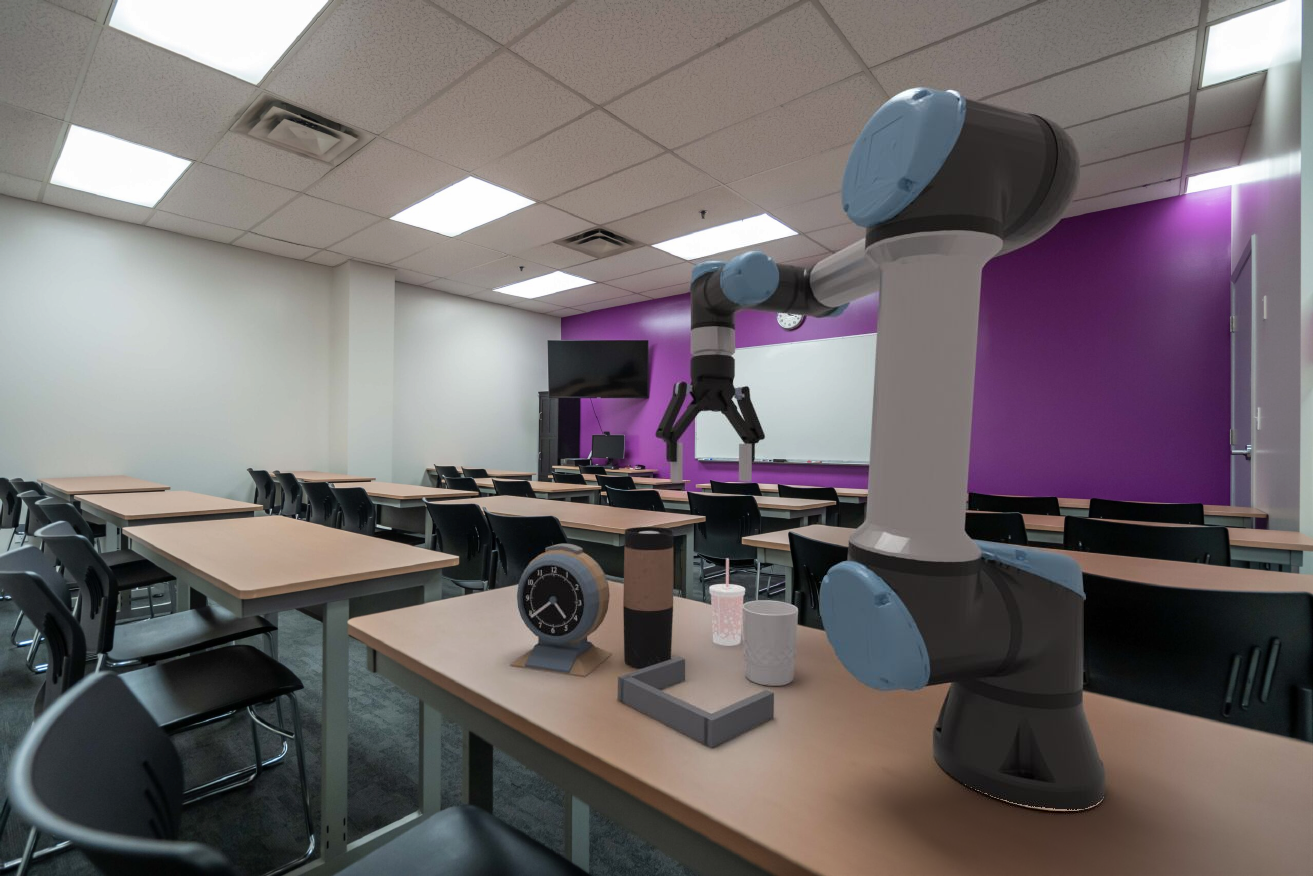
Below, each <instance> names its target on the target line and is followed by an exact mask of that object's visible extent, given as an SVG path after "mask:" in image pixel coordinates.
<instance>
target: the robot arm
mask: <svg viewBox="0 0 1313 876" xmlns="http://www.w3.org/2000/svg"><path fill="white" fill-rule="evenodd" d="M1080 159H1081V158H1080V156H1079V151H1078V149H1077V147H1076V143H1075V141H1074V140H1073V138H1072V136H1071V135H1069V133H1068V132H1067V131H1066V130H1065V129H1064V128H1063V127H1062V126H1061V125H1059V124H1058V123H1057V122H1055V121H1053V120H1051V119H1049V118H1047V117H1044V116H1041V115H1038V114H1035V113H1028V112H1027V113H1026V112H1025V111H1024V112H1023V111H1020V110H1017V109H1016V110H1015V109H1013V108H1009V107H1004V106H1001V105H996V104H993V103H989V102H986V101H985V102H984V101H981V100H976V99H973V98H969V97H964V95H962V93H961V92H959V91H957V90H953V89H948V90H946V91H945V90H939V89H935V88H930V87H924V86H923V87H922V86H921V87H920V86H919V87H912V88H909V89H906V90H904V91H901V92H899V93H897V94H896V95H895V96H893V97H891V98H890V99H889V100H887V101H886V102H885V103H884V104H883V105H882V106H880V108H878V109H877V110H876V112H874V114H873V115H872V116H871V118H870V119H869V120H868V121H867V122H866V124H865V126H864V128H863V129H862V131H861V133H860V135H859V136H858V137H857V139H856V140H855V142H854V144H853V147H852V149H851V151H850V153H849V156H848V159H847V161H846V164H845V168H844V171H843V175H842V181H841V190H840V191H841V192H840V193H841V195H840V196H841V205H842V206H841V207H842V209H843V211H844V212H845V213H846V216H847V218H848V220H850V221H851V222H853V223H854V224H855V225H856V226H858V227H860V228H864V229H865V237H863V238H861V239H859V240H858V241H856V242H854V243H853V244H850V245H849V246H846V247H845V248H842V249H840V250H839V251H837V252H835V253H833V254H831V255H830V256H827V257H826V258H823V259H821V260H820V261H817V262H816V263H813V264H812V265H810V266H805V265H796V264H786V263H780V262H779V263H778V262H775V261H774V259H773V258H772V257H770V256H768V255H767V254H766V253H764V252H762V251H759V250H749V251H746V252H744V253H742V254H740V255H737V256H735V257H734V258H731V259H729V261H724V260H707V261H704V262H700V263H697V264H696V265H694V267H693V268H692V270H691V277H690V278H691V279H690V285H689V291H690V292H689V293H690V354H691V355H692V357H691V358H690V360H689V361H690V363H689V365H690V367H689V368H690V371H689V372H690V373H689V375H690V379H691V380H690V381H691V382H690V384H689V383H687V382H686V381H681V382H679V381H678V382H676V383H674V384H673V389H672V397H670V398H671V399H670V401H669V403H668V405H667V407H666V410H665V411H664V414H663V416H662V418H661V420H660V422H659V424H658V426H657V429H656V431H655V437H656V438H658V439H661V440H662V441H663V442H664V443H666V450H665V451H666V453H665V454H666V455H665V456H666V457H665V458H666V459H665V460H666V461H667V462H669V463H670V479H669V481H670V483H678V484H680V483H683V468H684V467H683V466H684V465H683V459H684V458H683V453H684V452H683V450H684V449H683V447H684V445H683V444H684V443H683V442H679V439H681V437H682V436H683V434H685V432H686V430H687V429H688V428H689V427H690V425H691V424H692V422H693V421H694V420H695V419H696V417H697V416H698V415H699V413H701V412H715V413H718V412H721V414H723V415H724V416H725V417H726V419H727V420H728V422H729V424H731V427H732V428H733V429H734V430H735V432H736V433H737V435H738V436H739V438H740V439H741V442H743V443H739V444H738V482H747V483H748V482H752V479H753V478H752V472H753V471H752V463H754V462H755V459H756V454H755V453H756V444H758V443H759V442H760V441H763V440H764V439H766V435H765V431H764V430H763V427H762V424H761V422H760V420H759V417H758V415H757V412H756V410H755V409H756V408H755V407H754V405H753V402H752V399H751V393H750V392H751V391H750V387H749V386H748V385H745V386H740V387H739V386H738V387H735V386H734V380H735V376H736V373H735V372H736V359H735V358H734V356H733V355H735V353H736V314H738V313H740V312H742V311H757V312H765V313H766V312H767V313H777V314H787V315H794V316H795V315H796V316H797V315H798V316H805V317H813V318H817V319H822V318H837V317H839V316H842V314H843V313H844V311H845V310H846V309H848V308H849V305H850V304H851V302H853V301H856V300H859V299H861V298H865V297H867V296H869V295H872V294H875V293H878V305H877V307H878V308H877V309H878V311H877V322H876V323H877V324H876V325H877V327H876V341H875V342H876V344H875V345H876V346H875V361H874V362H875V363H874V376H873V377H874V378H873V379H874V380H873V395H872V412H871V413H872V414H871V429H870V430H871V431H870V446H869V447H870V450H869V465H868V483H867V498H866V499H867V501H866V516H865V517H866V518H865V520H864V521H863V523H862V524H861V525H859V526H858V527H857V528H856V529H855V530H853V531H852V532H851V533H850V534H849V535H848V547H847V559H846V560H845V561H841V562H839V563H837V564H835V565H833V566H831V567H830V568H829V570H828V571H827V574H826V575H824V577H823V579H822V581H821V584H820V589H819V609H820V610H819V611H820V616H821V622H822V625H823V629H824V632H825V635H826V638H827V640H828V642H829V644H830V645H831V646H832V649H833V651H834V654H835V656H836V657H837V659H838V660H839V662H840V663H841V665H842V666H843V667H844V668H845V670H846V671H847V672H848V673H849V674H850V675H851V676H853V678H855V679H856V680H857V681H858V682H860V683H861V684H863V685H865V686H867V687H868V688H871V689H874V690H877V691H883V692H891V691H899V690H900V691H901V690H902V691H903V690H905V691H910V692H911V691H912V692H914V691H920V690H922V689H923V688H925V687H931V686H938V685H944V684H950V686H949V687H948V690H947V693H946V696H945V698H944V701H943V704H942V707H941V708H940V712H939V713H938V718H937V721H936V723H935V725H934V727H933V733H932V754H933V757H934V759H935V761H936V763H937V764H938V766H940V768H941V769H943V771H944V772H945V773H947V772H948V773H949V774H950V776H951V777H952V776H953V777H954V778H953V777H952V778H953V779H955V780H956V779H957V780H956V781H958V780H959V781H960V783H961V782H962V783H961V784H963V785H964V784H966V785H967V786H966V785H965V786H966V787H968V786H969V787H968V788H970V787H972V788H973V789H972V788H971V789H972V790H974V789H976V790H979V791H981V792H983V793H987V794H988V795H991V796H993V797H996V798H999V799H1003V800H1007V801H1009V802H1013V803H1017V804H1022V805H1028V806H1031V807H1032V806H1033V807H1034V806H1035V807H1041V808H1042V807H1045V808H1053V809H1054V808H1055V809H1067V810H1069V809H1070V810H1071V809H1072V810H1074V809H1075V810H1077V809H1085V808H1088V807H1090V806H1093V805H1096V804H1097V803H1098V802H1100V801H1101V800H1102V799H1103V797H1104V795H1105V796H1106V770H1105V766H1104V764H1103V761H1102V760H1101V757H1100V754H1099V751H1098V748H1097V745H1096V742H1095V739H1094V735H1093V733H1092V730H1091V727H1090V725H1089V721H1088V719H1087V715H1086V713H1085V709H1084V699H1083V698H1084V695H1083V694H1084V692H1083V691H1084V687H1083V686H1084V602H1085V601H1086V599H1087V597H1086V593H1085V592H1084V583H1083V582H1084V581H1083V571H1082V567H1081V565H1080V564H1079V563H1078V561H1077V560H1076V559H1074V558H1073V557H1072V556H1069V555H1067V554H1064V553H1060V552H1055V551H1049V550H1044V549H1038V548H1034V547H1033V548H1032V547H1027V546H1021V545H1015V544H1008V543H1001V542H993V541H987V540H981V539H980V540H979V539H973V538H971V537H970V536H969V535H968V534H967V532H966V530H965V529H966V526H965V525H966V515H967V514H966V511H967V497H968V483H969V466H970V454H971V453H970V451H971V437H972V435H971V434H972V422H973V408H974V407H973V406H974V395H975V394H974V391H975V378H976V377H975V376H976V374H975V373H976V363H977V361H976V360H977V346H978V333H979V332H978V331H979V315H980V301H981V300H980V299H981V284H982V271H983V268H984V266H985V265H986V264H987V263H988V262H989V261H990V260H992V259H993V258H996V257H999V256H1003V255H1005V254H1008V253H1011V252H1014V251H1016V250H1018V249H1020V248H1022V247H1025V246H1027V245H1029V244H1031V243H1033V242H1035V241H1036V240H1038V239H1039V238H1041V237H1043V236H1044V235H1045V234H1047V233H1048V232H1049V231H1050V230H1052V229H1053V228H1054V227H1055V226H1056V225H1058V223H1059V222H1060V221H1061V219H1062V218H1063V217H1064V215H1065V214H1066V213H1067V212H1068V211H1069V209H1070V207H1071V205H1072V203H1073V201H1074V199H1075V196H1076V194H1077V192H1078V188H1079V184H1080V180H1081V160H1080ZM688 395H690V397H691V398H692V400H691V401H690V402H689V404H688V405H687V407H686V410H685V411H684V412H683V413H682V414H681V416H680V417H679V418H678V420H677V417H678V415H679V413H680V411H681V409H682V407H683V405H684V402H685V400H686V397H687V396H688ZM733 398H734V399H735V400H736V402H737V405H736V404H735V402H734V401H733ZM738 408H739V410H740V412H739V410H738ZM676 420H677V421H676ZM675 422H676V423H675ZM948 773H947V774H948ZM949 774H948V775H949ZM959 781H958V782H959ZM976 790H975V791H976ZM1104 798H1105V797H1104Z"/></svg>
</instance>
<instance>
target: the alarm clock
mask: <svg viewBox="0 0 1313 876" xmlns="http://www.w3.org/2000/svg"><path fill="white" fill-rule="evenodd" d="M583 550H584V549H583V548H582V547H580V546H578V545H575V544H573V543H572V544H571V543H558V544H554V545H550V546H547V547H545V550H544V551H545V552H542V553H541V554H538V555H537V556H536V557H535V558H534V559H532V560H531V561H530V562H529V563H528V565H527V566H526V568H525V569H524V570H523V573H522V574H521V577H520V579H519V583H518V584H517V585H518V586H517V593H516V600H517V601H516V602H517V609H518V613H519V615H520V617H521V620H522V621H523V623H524V625H525V626H526V628H527V629H528V630H529V631H530V632H531V633H533V635H535V637H537V639H538V640H537V642H538V643H536V644H535V645H534V646H533V648H532V649H530V650H528V651H527V652H526V653H524V654H523V655H522V656H520V657H519V658H517V659H516V660H514V661H513V662H512V663H510V665H509V666H510V667H515V668H521V669H529V670H535V671H541V672H547V673H555V674H561V675H567V676H574V677H579V678H586V677H587V676H589V675H590V674H591V673H592V672H593V671H595V670H596V669H597V668H598V667H599V666H600V665H602V664H603V663H604V662H605V661H607V660H608V658H610V657H611V656H613V653H612V652H610V651H608V650H605V649H603V648H601V647H598V646H595V644H593V643H592V642H591V641H588V636H590V635H591V634H592V633H595V631H597V630H598V629H599V627H600V626H601V624H602V623H603V622H604V620H605V617H606V615H607V613H608V610H609V603H610V587H609V581H608V579H607V577H606V573H605V572H604V570H603V569H602V567H601V565H600V564H599V563H598V562H597V561H596V560H595V559H593V557H591V556H589V554H586V553H585V552H584V551H583Z"/></svg>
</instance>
